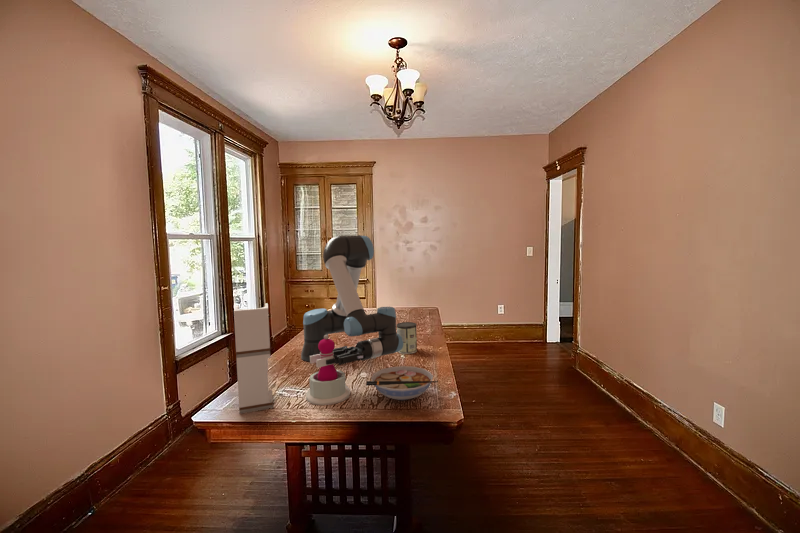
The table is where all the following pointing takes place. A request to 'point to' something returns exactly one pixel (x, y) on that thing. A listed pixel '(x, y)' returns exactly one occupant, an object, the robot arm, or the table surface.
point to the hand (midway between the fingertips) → (313, 361)
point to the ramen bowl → (401, 382)
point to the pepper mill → (326, 351)
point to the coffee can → (408, 337)
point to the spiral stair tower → (252, 358)
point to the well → (327, 390)
